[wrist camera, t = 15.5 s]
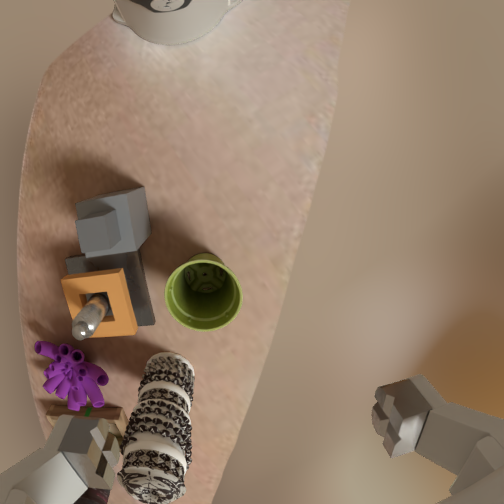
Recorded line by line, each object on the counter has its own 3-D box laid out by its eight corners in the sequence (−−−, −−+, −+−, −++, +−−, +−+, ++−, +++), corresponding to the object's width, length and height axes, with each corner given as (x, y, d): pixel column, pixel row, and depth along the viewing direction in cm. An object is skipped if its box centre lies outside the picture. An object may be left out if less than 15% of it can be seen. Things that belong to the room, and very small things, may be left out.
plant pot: (233, 236, 45) (236, 254, 37) (242, 297, 48) (247, 325, 40) (167, 246, 45) (156, 266, 36) (180, 306, 47) (174, 336, 39)
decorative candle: (155, 395, 52) (134, 512, 28) (134, 355, 49) (95, 474, 25) (203, 387, 52) (202, 510, 28) (185, 344, 49) (170, 472, 25)
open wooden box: (51, 404, 51) (45, 415, 48) (122, 407, 52) (118, 419, 49) (70, 436, 54) (66, 447, 50) (138, 440, 55) (135, 452, 52)
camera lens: (116, 474, 58) (106, 522, 44) (109, 486, 60) (100, 530, 45) (85, 461, 56) (71, 508, 42) (80, 474, 58) (67, 517, 44)
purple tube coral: (92, 325, 50) (110, 357, 44) (92, 387, 54) (110, 421, 48) (32, 330, 42) (41, 366, 36) (40, 394, 46) (53, 431, 40)
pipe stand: (68, 256, 43) (24, 290, 30) (138, 246, 44) (110, 280, 31) (88, 326, 47) (56, 374, 34) (155, 321, 48) (137, 373, 35)
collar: (66, 275, 40) (60, 280, 38) (122, 267, 40) (118, 272, 38) (83, 331, 42) (79, 338, 40) (138, 327, 43) (135, 334, 41)
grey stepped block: (101, 194, 42) (60, 208, 29) (144, 186, 42) (115, 197, 30) (109, 239, 43) (73, 268, 31) (151, 233, 44) (127, 261, 31)
